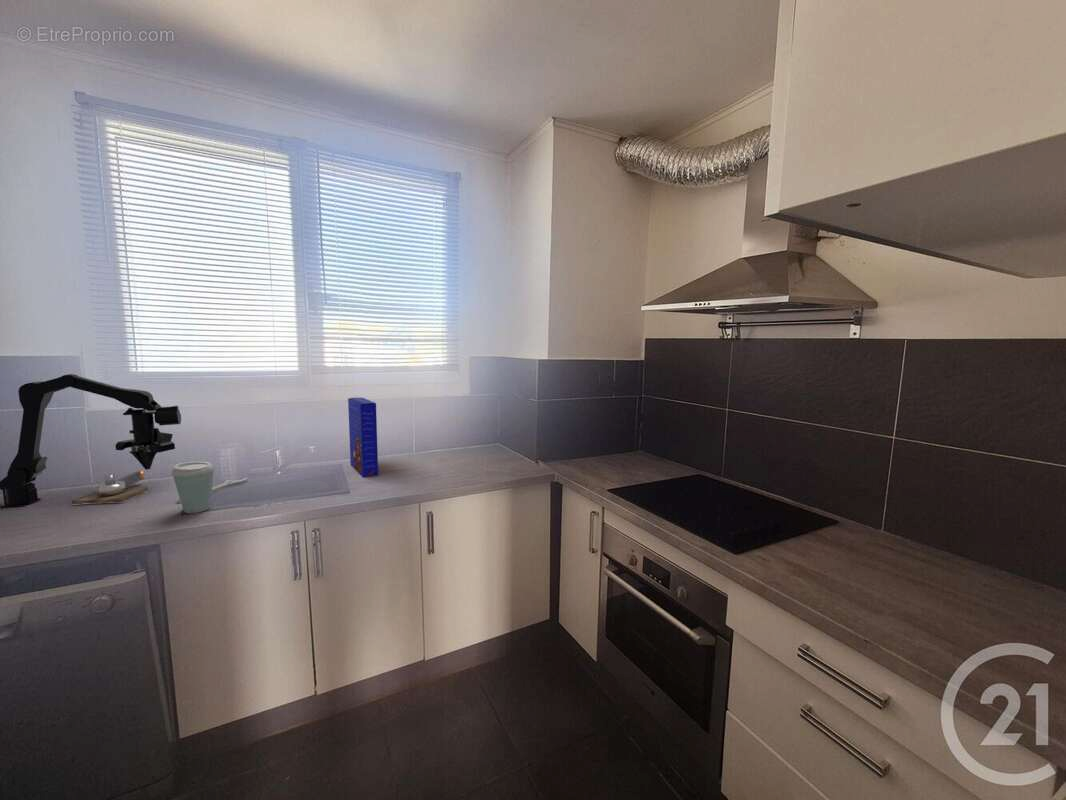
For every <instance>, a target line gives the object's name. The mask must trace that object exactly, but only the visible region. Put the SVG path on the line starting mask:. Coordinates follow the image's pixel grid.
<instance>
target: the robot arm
mask: <svg viewBox="0 0 1066 800" xmlns="http://www.w3.org/2000/svg"><path fill="white" fill-rule="evenodd" d="M67 388H73V389H76V390H81V391H84V392H87V393H91V394H95V395H99V396H103V397H106V398H109V399H114V400H116V401H118V402H120V403H121V404H123V405H125V406H129V407H128V408H127V409H126V411H124V412H123V413H122V415H123V416H131V424H132V425H131V426H132V429H130V430H129V434H132V435H133V436H132V437H133V439H132V438H131V439H126V440H121V441H117V443H116V444H115V450H116V451H124V450H125V449H128V448H129V449H131V451H129V452H128V453H129V454H131V455H132V456H133V457H134V458H135V459H136V461H138V462H139V463H140V465H141V466H142V468H143V469H144V470H145V471H146V470H147V471H149V470H150V469H151V467H152V464H153V461H154V459H155V457H156V454H158V453H162V452H163V453H164V452H167V451H173V450H175V449H176V444H175V443H174V441H172V439H173V434H172V433H168V432H161V431H160V429H159V428H158V427H155V423H156V424H158V426H173V425H181V423H182V414H181V411H180V409H179V405H173V406H162V405H160V404H159V403H158V402H157V401H156V400H155V399H154V397H153V395H152V393H151V392H149V391H147V390H139V389H133V388H123V387H120V386H119V387H118V386H115V385H111V384H108V383H104V382H101V381H97V380H94V379H90V378H86V377H82V376H79V375H77V374H74V373H73V374H72V373H69V374H64V375H61V376H60V377H56V378H52V379H48V380H45V381H33V382H27V383H24V384H22V385H20V387H18V390H17V391H18V392H17V393H18V400H19V403H20V405H21V408H22V409H23V410H22V411H23V412H22V419H21V424H20V426H21V427H20V433H19V440H18V447H17V453H16V454H15V456H14V458H13V460H12V462H10V464H9V468H8V470H7V473H6V476H5V477H3V479H1V480H0V490H1V491H2V496H3V504H0V508H14V507H15V506H17V507H25V506H28V505H30V504H32V502H33V503H35V501H36V502H38V500H39V501H41V500H42V497H39V496H38V489H37V487H36V485H35V481H36V480H37V477H38V476H39V475H41V474H42V473H43V471H44V470H47V465H46V464H47V460H48V457H47V456H41V453H40V446H41V437H42V433H43V426H44V425H43V424H44V417H45V411H46V409H47V407H48V406H49V404H50V402H51V401H52V397H53V395H54V393H55V392H59V391H61V390H64V389H67ZM40 499H41V500H40ZM27 504H28V505H27ZM24 505H25V506H24Z"/></svg>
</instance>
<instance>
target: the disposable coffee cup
mask: <svg viewBox="0 0 1066 800" xmlns="http://www.w3.org/2000/svg"><path fill="white" fill-rule="evenodd" d="M172 467H173V469H171V476H173V480H174V484H175V487H176V490H177V493H178V497H179V498H180V501H181V503H180V504H181V508H182V510H183V511H184V513H185V514H197V513H201V512H204V511H207V510H208V509H209V508H210V506H211V500H212V487H213V482H214V481H213V480H214V471H215V465H213V464H212V463H211V462H208V461H189V462H188V461H187V462H185V461H184V462H181V463H177V464H175V465H173V466H172ZM179 498H178V499H179Z"/></svg>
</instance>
